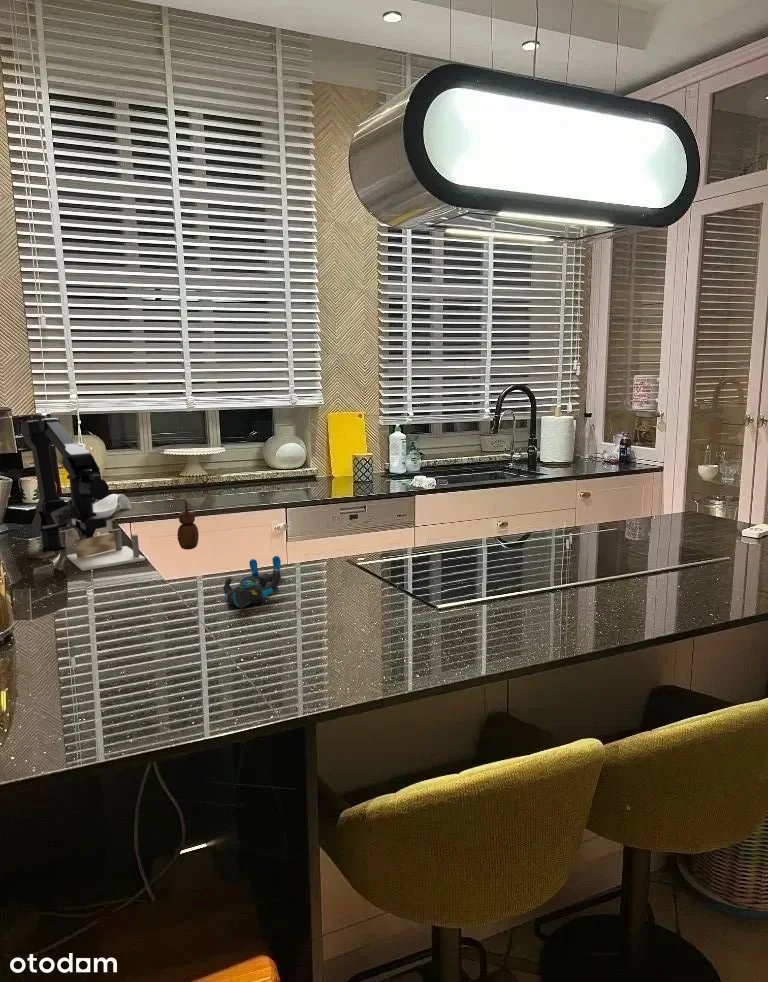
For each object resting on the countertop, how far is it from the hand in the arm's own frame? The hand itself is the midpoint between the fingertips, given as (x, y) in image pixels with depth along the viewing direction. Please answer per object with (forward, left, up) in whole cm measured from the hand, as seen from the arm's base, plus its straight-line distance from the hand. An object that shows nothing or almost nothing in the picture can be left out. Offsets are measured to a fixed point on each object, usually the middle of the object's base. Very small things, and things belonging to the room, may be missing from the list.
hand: (85, 548), depth 218 cm
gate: (+2, +4, -1) cm, 4 cm away
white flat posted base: (+6, +4, -3) cm, 8 cm away
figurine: (+66, +23, -3) cm, 70 cm away
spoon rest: (-68, +24, -3) cm, 72 cm away
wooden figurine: (+9, +27, -3) cm, 29 cm away
